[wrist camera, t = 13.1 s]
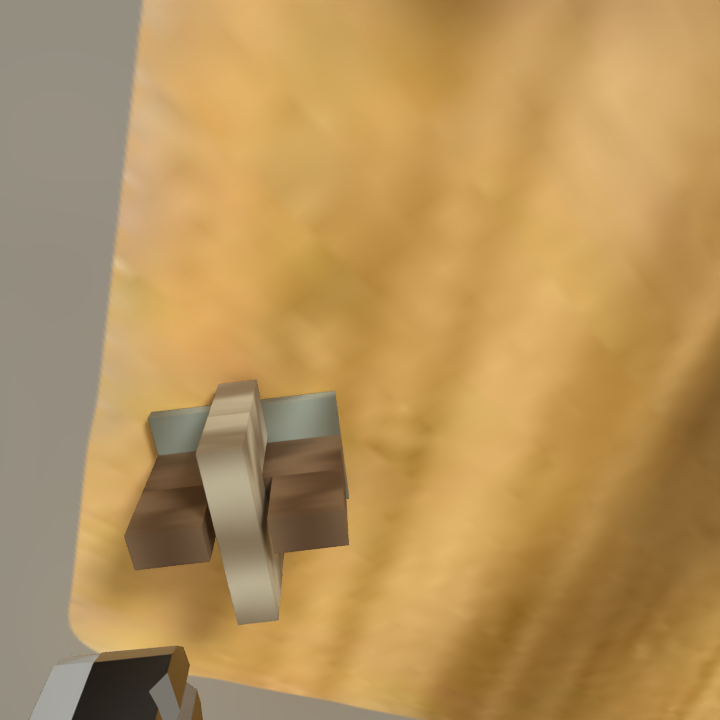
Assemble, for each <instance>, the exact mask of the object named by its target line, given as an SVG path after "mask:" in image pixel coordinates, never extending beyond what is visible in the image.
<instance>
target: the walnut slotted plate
mask: <svg viewBox="0 0 720 720" xmlns="http://www.w3.org/2000/svg"><path fill="white" fill-rule="evenodd" d="M261 405H262V411H263V416H264V421H265V426H266V432H267V444H266V451H265V457H264V464H263V471H262V476H263V481H264V486H265V491H266V496H267V501H268V506H269V509H268V517H267V521H268V526H269V531H270V536H271V541H272V546H273V551H274V554H277V553H286V552H294V551H303V550H311V549H320V548H328V547H337V546H345V545H349V539H348V521H347V504H346V499H349V494H348V485H347V478H346V470H345V463H344V455H343V448H342V440H341V433H340V425H339V418H338V410H337V403H336V395H335V391H332V392H323V393H314V394H306V395H297V396H288V397H280V398H271V399H263V400H261ZM211 406H212V405H211ZM211 406H202V407H194V408H185V409H176V410H168V411H159V412H151V414H150V416H149V418H148V420H149V423H150V427H151V431H152V434H153V438H154V441H155V445H156V449H157V452H158V458H157V460H156V462H155V465H154V467H153V469H152V472H151V474H150V476H149V479H148V481H147V484H146V486H145V488H144V491H143V493H142V495H141V498H140V500H139V502H138V505H137V507H136V510H135V512H134V514H133V517H132V519H131V521H130V524H129V526H128V528H127V531H126V533H125V535H124V537H125V540H126V544H127V547H128V550H129V553H130V556H131V559H132V562H133V565H134V568H135V570H142V569H150V568H159V567H167V566H176V565H184V564H193V563H201V562H210V559H211V555H212V551H213V546H214V542H215V537H216V534H215V530H214V526H213V522H212V518H211V514H210V510H209V506H208V501H207V497H206V493H205V489H204V485H203V481H202V477H201V473H200V469H199V465H198V461H197V457H196V451H197V448H198V445H199V442H200V439H201V436H202V433H203V430H204V427H205V424H206V421H207V418H208V415H209V412H210V409H211Z"/></svg>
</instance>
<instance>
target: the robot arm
mask: <svg viewBox="0 0 720 720" xmlns="http://www.w3.org/2000/svg"><path fill="white" fill-rule="evenodd" d="M189 666H190V664H189V661H188V659H187V656H186V653H185V650H184V647H181V646H169V647H158V648H147V649H136V650H125V651H114V652H103V653H99V654H90V655H79V656H68V657H62V658H61V659H60V660H59V661H58V662H57V664H55V666H54V667H53V668H52V669H51V671H50V674H49V676H48V678H47V680H46V683H45V685H44V687H43V689H42V691H41V693H40V696H39V698H38V700H37V703H36V704H35V707H34V709H33V711H32V713H31V715H30V718H29V720H203V717H202V709H201V702H200V698H199V695H198V691H197V689H196V688H194V687H193V686H191V685H190V684H189V683H187V682H186V680H187V676H188V671H189Z"/></svg>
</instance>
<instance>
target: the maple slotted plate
mask: <svg viewBox="0 0 720 720" xmlns="http://www.w3.org/2000/svg"><path fill="white" fill-rule="evenodd" d="M266 444H267V432H266V426H265V421H264V416H263V411H262V405H261V400H260V395H259V390H258V384H257V380H250V381H241V382H233V383H224V384H218V387H217V390H216V393H215V396H214V399H213V402H212V406H211V409H210V412H209V415H208V418H207V421H206V424H205V427H204V430H203V433H202V436H201V439H200V442H199V445H198V448H197V451H196V457H197V461H198V465H199V469H200V473H201V477H202V481H203V485H204V489H205V493H206V497H207V501H208V506H209V510H210V514H211V518H212V522H213V526H214V530H215V534H216V538H217V542H218V546H219V550H220V554H221V558H222V562H223V566H224V570H225V574H226V578H227V582H228V586H229V590H230V594H231V598H232V602H233V606H234V610H235V614H236V618H237V623H238V625H243V624H251V623H260V622H268V621H277V620H279V608H280V595H281V583H282V570H283V557H284V553H277V554H274V551H273V546H272V541H271V536H270V531H269V526H268V521H267V517H268V509H269V506H268V501H267V496H266V491H265V486H264V481H263V476H262V471H263V464H264V457H265V451H266Z"/></svg>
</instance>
